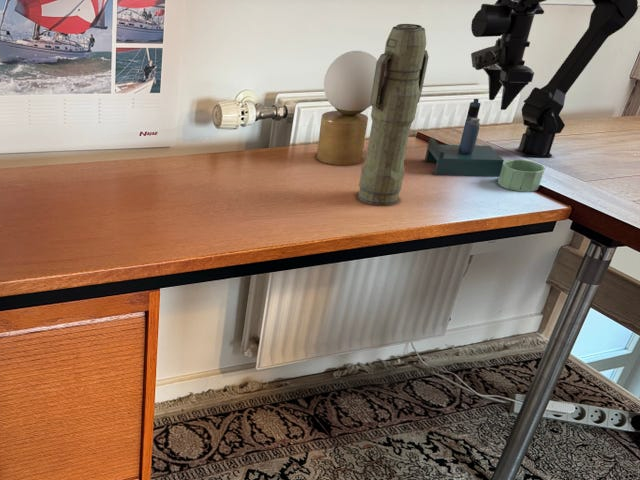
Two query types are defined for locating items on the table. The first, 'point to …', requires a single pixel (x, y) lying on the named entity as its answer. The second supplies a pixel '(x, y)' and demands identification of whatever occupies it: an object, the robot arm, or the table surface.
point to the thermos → (393, 113)
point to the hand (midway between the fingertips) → (497, 104)
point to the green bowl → (521, 175)
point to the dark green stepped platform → (463, 160)
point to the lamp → (346, 108)
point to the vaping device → (470, 129)
